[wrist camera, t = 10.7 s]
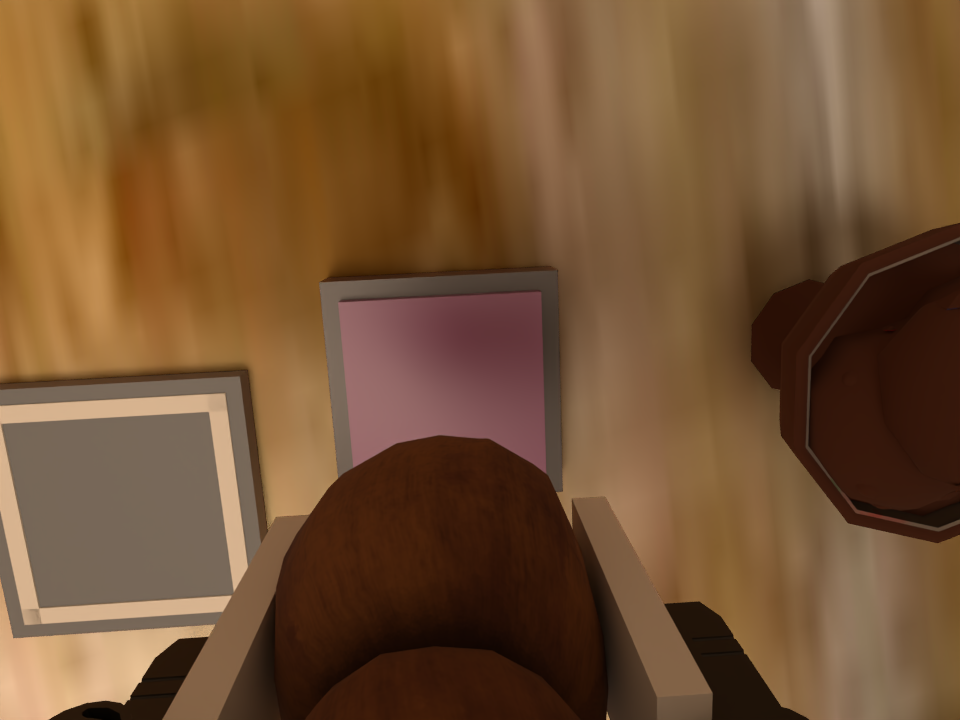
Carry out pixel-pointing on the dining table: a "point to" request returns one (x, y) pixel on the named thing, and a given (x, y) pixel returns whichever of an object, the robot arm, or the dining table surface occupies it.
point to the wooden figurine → (438, 595)
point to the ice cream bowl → (875, 383)
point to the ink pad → (445, 361)
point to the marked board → (126, 501)
